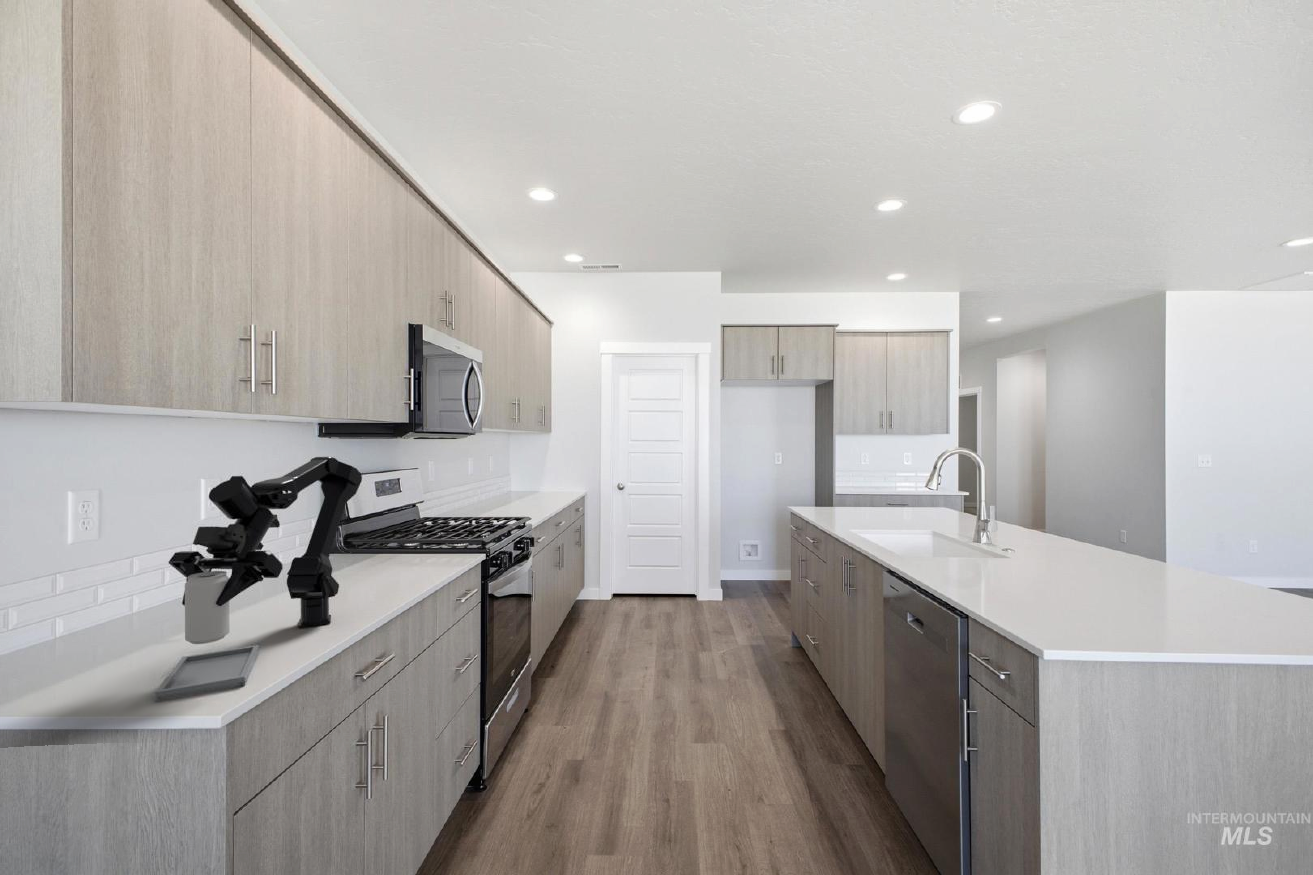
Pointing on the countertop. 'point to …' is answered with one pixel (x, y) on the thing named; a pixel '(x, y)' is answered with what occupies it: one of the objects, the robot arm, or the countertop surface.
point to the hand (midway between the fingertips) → (201, 605)
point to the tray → (208, 673)
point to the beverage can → (206, 608)
